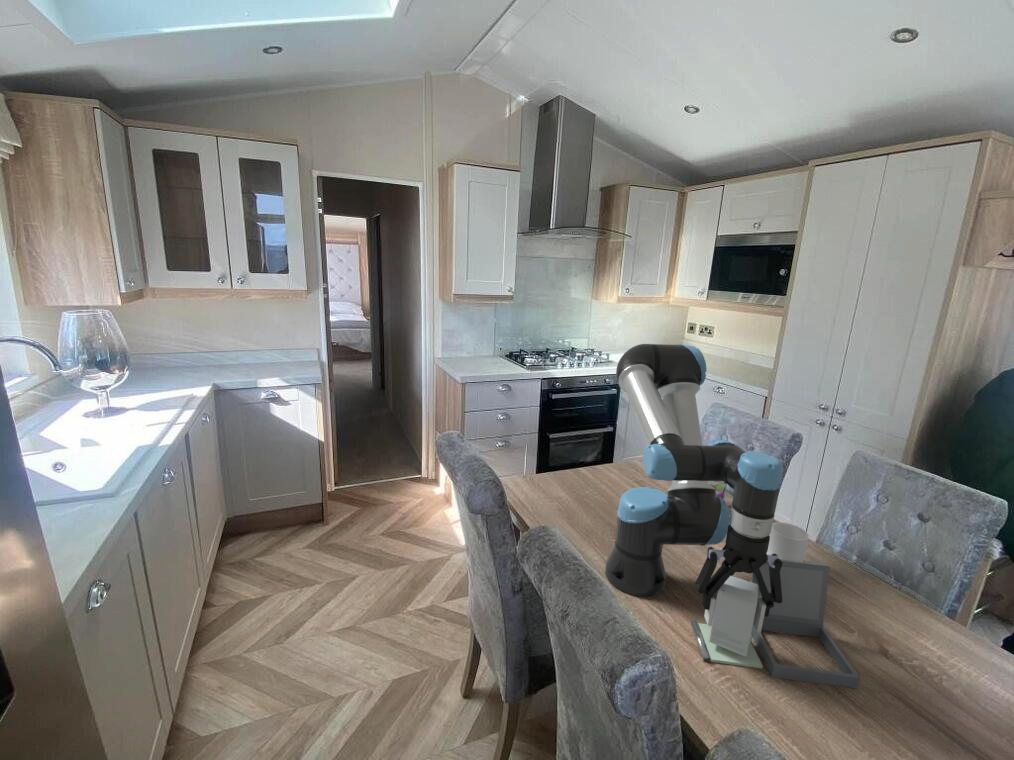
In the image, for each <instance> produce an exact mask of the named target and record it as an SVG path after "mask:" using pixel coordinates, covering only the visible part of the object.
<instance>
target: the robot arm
mask: <svg viewBox="0 0 1014 760" xmlns="http://www.w3.org/2000/svg"><path fill="white" fill-rule="evenodd" d="M705 359H706V358H705V356H704V354H703V353H702V350H700V349H699V348H698V347H696V346H694V345H689V344H688V345H687V344H683V343H682V344H680V343H678V344H661V343H660V344H657V343H653V344H652V343H641V344H637V345H634V346H632V347H631V348H629V349H628V350H626V351H625V352H624V353H623V355H622V356H621V357H620V359H619V360H618V363H617V366H616V372H615V375H616V376H615V377H616V380H617V383H618V386H619V389H621V391H623V392H624V393H625V394H626V395H627V398H628V400H629V402H630V406H631V408H632V410H633V413H634V414H635V418H636V420H637V423H638V425H639V428H640V430H641V433H642V435H643V438H644V440H645V443H646V444H647V445H646V447H645V448H644V451H643V454H642V463H643V470H644V472H645V475H646V476H647V477H648V478H649V479H651V480H657V481H666V482H672V484H671V485H670V486H669V488H667V494H666V492H664V491H662V490H660V489H658V488H653V487H649V486H639V487H634V488H633V487H632V488H631V489H630V488H629V489H628V490H626V491H625V492H623V494H621V496H620V498H619V501H618V503H619V504H618V508H617V511H616V513H617V516H616V517H617V518H616V527H615V528H616V529H615V539H614V545H613V547H612V549H611V551H610V552H609V555H608V557H607V559H606V561H605V568H604V569H605V570H604V573H605V577H606V579H607V580H608V582H609V583H610V584H611V585H612V586H614V587H615V588H616V589H618V590H620V591H622V592H624V593H626V594H629V595H633V596H639V597H649V596H654V595H658V594H659V593H661V592H662V591H663V590H664V588H665V586H666V581H667V580H666V578H667V572H666V569H665V564H664V560H663V556H662V555H663V554H662V552H663V546H666V545H667V546H669V545H672V546H673V545H674V546H701V547H703V546H709V547H708V548H707V557H706V559H705V561H704V563H703V565H702V568H701V570H700V572H699V574H698V576H697V579H696V581H695V583H694V585H695V588H696V591H697V593H698V594H699V595H702V599H701V604H702V606H703V607H702V608H703V609H704V615H703V617H704V619H705V622H706V624H707V625H708V626H712V621H713V615H714V610H715V604H716V597H715V594H717V593H718V589H719V588H720V587H721V586H722V585H723V584H724V583H725V581H726V580H727V579H728V578H729V577H730V576H734V575H735V574H736V573H746V574H749V575H751V574H752V573H753V575H754V578H755V580H756V583H757V585H758V587H759V590H760V592H761V595H762V597H761V596H758V602H757V607H756V612H755V617H754V622H753V625H754V627H755V629H756V631H757V632H761V633H762V630H761V629H762V624H763V619H764V616H765V617H767V616H768V615H769V611H770V608H772V607H774V604H773V603H774V602H777V603H782V590H781V578H780V570H781V567H782V564H783V563H782V561H781V560H780V558H779V557H778V555H777V554H772V555H767V551H768V546H769V541H770V534H771V530H772V525H773V524H774V519H775V513H776V509H777V504H778V500H779V496H780V495H779V494H780V490H781V486H782V483H783V479H782V476H783V469H784V467H783V466H784V465H783V463H782V461H781V460H780V459H779V458H777V457H775V456H773V455H770V454H768V453H765V452H759V451H745V450H743V449H742V448H741V447H740V446H738V445H737V444H735V443H733V442H731V441H729V440H726V439H717V440H714V441H712V442H709V443H708V444H707V445H703V439H702V434H701V433H702V432H701V426H700V419H699V418H700V417H699V412H698V404H697V398H696V395H697V394H698V392H700V390H701V385H703V384H704V382H705V381H706V377H707V374H706V372H707V363H706V360H705ZM708 481H724V482H725V483H727V485H728V487H730V488H731V489H732V490H733V497H732V501H731V502H732V503H731V508H730V511H729V506H728V504H727V503H726V500H725V499H724V500H723V499H722V498H720V497H716V491H715V488H714V487H712V486H711V485H710V484H709V483H708ZM724 540H725V544H724V546H723V547H722V548H721V549H714V547H712V546H710V545H713V546H715V545H718V544H720V543H721V542H723V541H724ZM721 558H724V559H723V561H721ZM720 561H721V562H722V563H721V565H720V567H718V568H717V564H718V563H720ZM766 562H767V563H768V565H769V575H770V586H771V593H769V592H768V590H767V587H766V585H765V582H764V580H763V576H762V574H761V571H760V569H759V568H760V567H761V566H762V565H764V564H765V563H766ZM716 568H717V570H716ZM715 570H716V572H715ZM714 572H715V573H714Z"/></svg>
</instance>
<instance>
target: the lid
mask: <svg viewBox="0 0 1014 760" xmlns="http://www.w3.org/2000/svg"><path fill="white" fill-rule="evenodd" d="M780 560H781V559H780ZM781 561H782V563H783V564H782V567H781V570H780V578H781V590H782V603H777V602H774V603H773V604H774V607H772V608H770V611H769V615H768V616H767V617H765V616H764V618H765V619H773V620H781V621H789V622H798V623H806V624H814V625H822V626H824V623H825V622H824V620H825V611H826V603H827V593H828V587H829V586H828V585H829V576H830V575H829V574H830V565H829V564H825V563H816V562H807V561H803V562H800V561H790V560H781ZM759 569H760V571H761V574H762V576H763V580H764V582H765V585H766V587H767V590H768V592H769V593H771V586H770V575H769V565H768V563H767V562H766V563H765V564H764V565H762V566H761V567H760V568H759ZM750 575H751V576H750V582H752V583H755V584H757V583H756V580H755V578H754V575H753V573H752V574H750ZM758 596H761V597H762V595H761V592H760V590H759V591H758Z"/></svg>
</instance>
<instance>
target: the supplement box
mask: <svg viewBox="0 0 1014 760" xmlns="http://www.w3.org/2000/svg"><path fill="white" fill-rule="evenodd" d="M758 591H759V587H758V585H757V584H755V583H752V582H751V581H750V580H749V581H748V580H745V579H743V578H740V577H736V576H734V575H733V576H730V577H729V578H728V579H727V580H726V581H725V583H724V584H723V585H722V586H721V587H720V588H719V589H718V591H717V592H716V597H715V599H716V603H715V609H714V614H713V620H712V627H711V632H710V639H709V642H711V643H713V644H716V645H718V646H721V647H723V648H726V649H728V650H730V651H733V652H735V653H738V654H740V655H743V656H747V653H748V648H749V643H750V641H751V637H752V635H751V632H752V627H753V622H754V617H755V612H756V607H757V602H758Z"/></svg>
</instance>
